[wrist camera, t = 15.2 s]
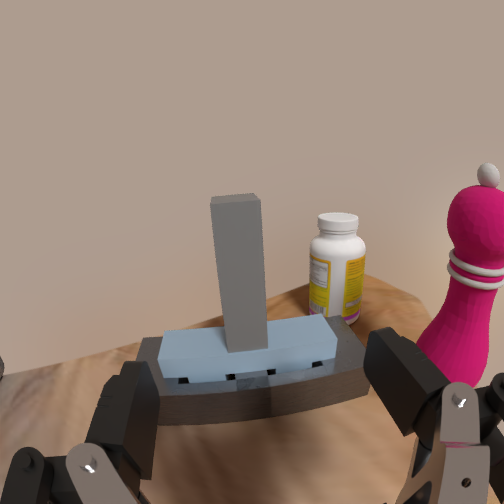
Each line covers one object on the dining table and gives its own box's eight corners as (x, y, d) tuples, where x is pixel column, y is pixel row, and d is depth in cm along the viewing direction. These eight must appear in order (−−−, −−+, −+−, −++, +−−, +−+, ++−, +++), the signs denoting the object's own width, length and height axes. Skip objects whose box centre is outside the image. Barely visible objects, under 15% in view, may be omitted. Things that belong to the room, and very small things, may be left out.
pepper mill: (384, 391, 21) (421, 153, 14) (431, 360, 23) (467, 161, 16) (433, 437, 14) (521, 167, 8) (477, 395, 16) (540, 175, 10)
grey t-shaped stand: (173, 404, 21) (122, 216, 16) (177, 375, 25) (139, 205, 19) (330, 385, 22) (346, 195, 17) (317, 358, 26) (324, 188, 21)
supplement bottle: (359, 304, 36) (366, 211, 32) (359, 331, 30) (370, 224, 26) (312, 300, 38) (313, 209, 34) (304, 327, 32) (305, 221, 28)
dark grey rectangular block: (141, 424, 19) (125, 395, 18) (153, 367, 26) (143, 337, 25) (367, 394, 21) (376, 363, 20) (336, 345, 28) (340, 314, 27)
